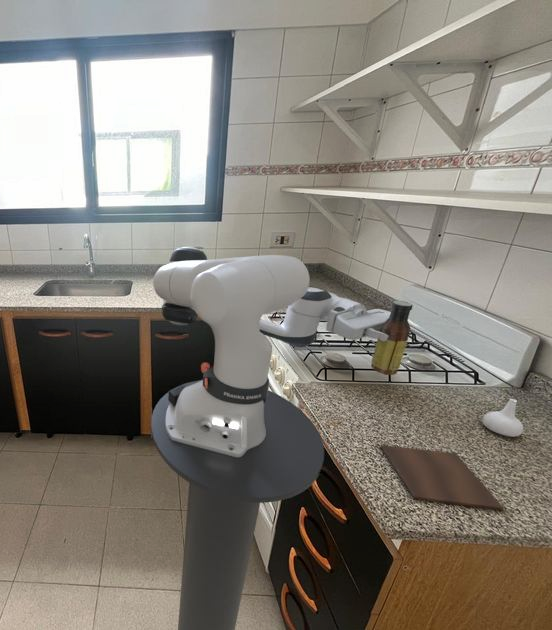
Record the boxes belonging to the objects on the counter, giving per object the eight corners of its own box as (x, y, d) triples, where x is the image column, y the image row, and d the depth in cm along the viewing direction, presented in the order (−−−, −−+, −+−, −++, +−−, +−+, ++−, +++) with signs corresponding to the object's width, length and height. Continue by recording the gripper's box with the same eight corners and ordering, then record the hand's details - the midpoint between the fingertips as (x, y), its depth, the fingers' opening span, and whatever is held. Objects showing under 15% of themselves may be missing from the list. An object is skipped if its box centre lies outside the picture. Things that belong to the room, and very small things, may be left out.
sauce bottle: (394, 367, 96) (418, 300, 88) (399, 378, 91) (425, 309, 83) (366, 361, 99) (387, 297, 91) (370, 372, 93) (392, 305, 85)
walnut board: (413, 498, 63) (414, 496, 62) (380, 447, 74) (381, 445, 74) (502, 510, 60) (504, 508, 60) (454, 455, 72) (455, 453, 72)
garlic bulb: (490, 436, 77) (505, 407, 73) (474, 418, 82) (487, 390, 79) (526, 442, 75) (543, 413, 72) (507, 423, 80) (522, 395, 77)
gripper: (370, 319, 106) (419, 339, 94) (321, 331, 99) (367, 353, 87) (376, 300, 103) (427, 318, 92) (326, 311, 97) (374, 331, 85)
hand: (397, 335), depth 89 cm, fingers closed on sauce bottle, 6 cm apart
